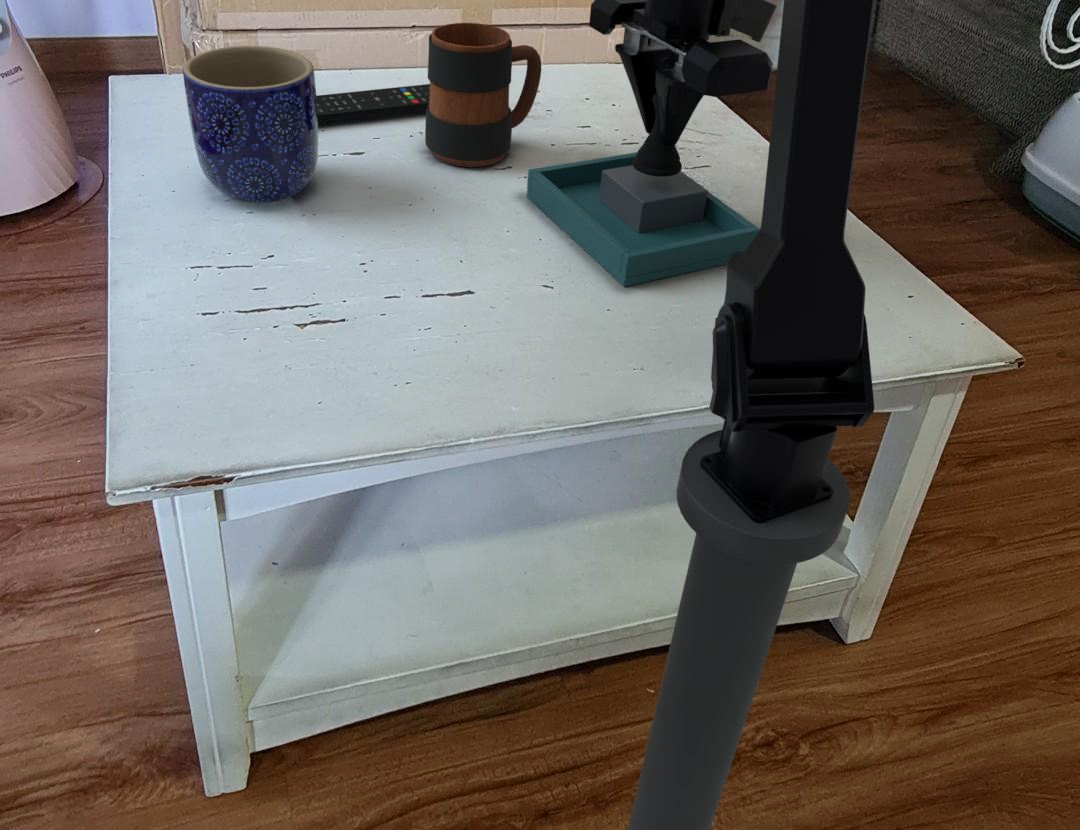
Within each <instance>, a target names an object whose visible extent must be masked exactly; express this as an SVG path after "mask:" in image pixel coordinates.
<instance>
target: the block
mask: <svg viewBox="0 0 1080 830" xmlns="http://www.w3.org/2000/svg"><path fill="white" fill-rule="evenodd" d="M708 192H709V190H708V189H707V188H705V187H704V186H702V185H701V184H699V182H697V181H695V180H694V179H693V178H692V177H690V176H689V175H687V174H686V173H684V172H683V171H682V170H681V171H680V172H679V173H678V174H676V175H673V176H666V177H658V176H651V175H647V174H643V173H641V172H639V171H637V170H636V169H635V168H634V167H633V165H631V166H625V167H619V168H613V169H607V170H602V177H601V185H600V194H599V200H600V201H601V202H602V203H603V204H604V205H605V206H607V207H608V208H609V209H610V210H611V211H613V212H614V213H615V214H616V215H617V216H619V217H620V218H621V219H622V220H623V221H625V222H626V223H627V224H628V225H629V226H631V227H632V228H633V229H634V230H635V231H637V232H638V233H642V232H647V231H652V230H657V229H662V228H668V227H673V226H678V225H683V224H688V223H693V222H698V221H702V220H703V216H704V211H705V205H706V200H707V195H708Z"/></svg>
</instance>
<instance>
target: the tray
mask: <svg viewBox="0 0 1080 830" xmlns="http://www.w3.org/2000/svg"><path fill="white" fill-rule="evenodd" d="M637 152H638V151H636V152H631V153H623V154H617V155H612V156H611V155H610V156H605V157H597V158H593V159H585V160H581V161H573V162H566V163H561V164H554V165H548V166H542V167H536V168H529V169H528V170H527V186H526V189H527V190H526V198H527V199H528V200H529V201H530V202H531V203H532V204H534V205H535V206H536V207H537V208H538V209H539V210H540V211H541V212H542V213H543V214H544V215H546V217H548V218H549V219H550V220H551V221H552V223H554V224H555V225H556V226H558V227H559V228H560V229H561V230H562V232H564V233H565V234H566V235H567V236H569V238H570V239H572V241H574V242H575V243H576V244H577V245H578V246H579V247H580V248H582V250H584V251H585V252H586V253H587V255H589V256H590V257H591V258H592V259H594V261H596V263H598V264H599V265H600V266H601V267H602V268H603V269H604V270H605V271H607V273H608V274H610V275H611V276H612V277H613V278H614V279H615V280H616V281H617V282H618V283H619V284H620V285H622V286H623V287H624V288H625V287H630V286H634V285H638V284H643V283H647V282H648V283H649V282H651V281H652V282H653V281H656V280H660V279H665V278H666V279H667V278H670V277H674V276H679V275H683V274H687V273H693V272H697V271H701V270H705V269H710V268H714V267H718V266H723V265H727V264H728V262H729V260H730V259H731V257H732V255H733V253H734V252H735V251H745V250H746V249H747V248H748V246H749V245H750V244H751V242H752V241H753V240H754V238H755V237H756V235H757V234H758V233H759V231H760V228H759V227H758V226H757V225H755V224H753V222H751V221H749V220H748V219H747V218H746V217H744V216H743V215H741V214H740V213H738V212H737V211H736V210H734V209H733V208H732V207H730V206H729V205H727V204H726V203H725V202H723V201H722V200H721V199H719V198H718V197H716V196H715V195H713V194H712V193H711V192H709V191H708V195H707V200H706V205H705V211H704V216H703V220H702V221H698V222H693V223H688V224H683V225H678V226H673V227H668V228H662V229H657V230H652V231H647V232H642V233H638V232H637V231H635V230H634V229H633V228H632V227H631V226H629V225H628V224H627V223H626V222H625V221H623V220H622V219H621V218H620V217H619V216H617V215H616V214H615V213H614V212H613V211H611V210H610V209H609V208H608V207H607V206H605V205H604V204H603V203H602V202H601V201H600V200H599V194H600V185H601V177H602V170H607V169H613V168H619V167H625V166H631V165H633V164H632V162H633V159H634V157H635V156H636V154H637Z"/></svg>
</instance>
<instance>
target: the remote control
mask: <svg viewBox="0 0 1080 830" xmlns="http://www.w3.org/2000/svg"><path fill="white" fill-rule="evenodd" d="M316 98H317V115H318V123H322V122H332V121H341V120H349V119H357V118H366V117H367V118H368V117H376V116H384V115H392V114H393V115H394V114H403V113H409V112H410V113H411V112H420V111H427V105H428V103H429V99H430V83H425V84H417V85H407V86H406V85H405V86H396V87H387V88H378V89H368V90H366V89H365V90H359V91H358V90H357V91H350V92H347V91H346V92H339V93H329V94H328V93H327V94H320V95H319V94H317V95H316Z"/></svg>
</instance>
